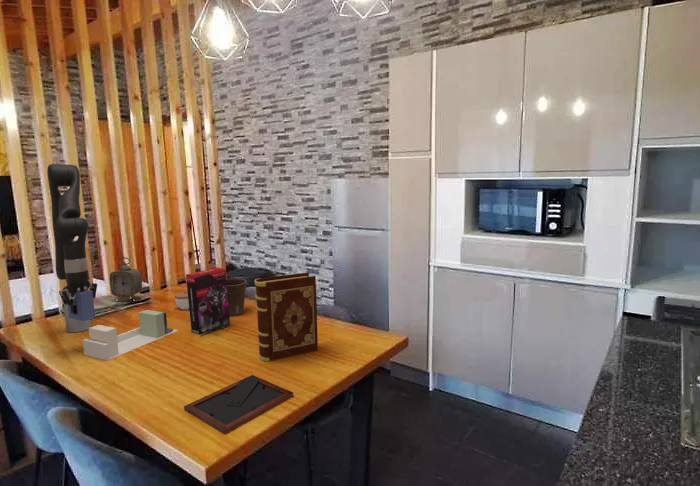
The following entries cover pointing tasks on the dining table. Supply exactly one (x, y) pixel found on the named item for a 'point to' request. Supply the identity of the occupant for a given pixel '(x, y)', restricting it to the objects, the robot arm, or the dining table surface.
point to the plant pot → (236, 295)
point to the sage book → (152, 323)
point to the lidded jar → (182, 300)
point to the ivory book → (105, 337)
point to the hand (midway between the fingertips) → (81, 312)
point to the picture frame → (238, 403)
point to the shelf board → (125, 344)
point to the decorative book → (286, 315)
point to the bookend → (166, 324)
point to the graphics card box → (208, 300)
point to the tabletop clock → (125, 281)
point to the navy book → (83, 306)
